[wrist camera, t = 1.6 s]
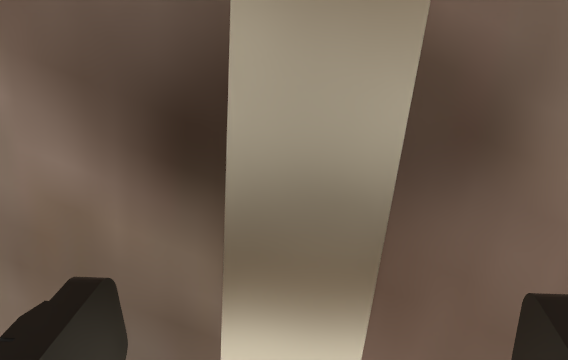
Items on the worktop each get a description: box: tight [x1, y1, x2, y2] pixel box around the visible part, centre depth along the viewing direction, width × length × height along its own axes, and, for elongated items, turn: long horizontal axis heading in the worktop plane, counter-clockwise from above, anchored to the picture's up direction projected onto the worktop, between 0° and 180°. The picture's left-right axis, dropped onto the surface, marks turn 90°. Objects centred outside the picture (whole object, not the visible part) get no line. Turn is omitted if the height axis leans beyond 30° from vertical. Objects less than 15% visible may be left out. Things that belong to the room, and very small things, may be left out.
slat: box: [221, 0, 431, 360], centre depth 13 cm, size 14×4×5 cm, turn 176°
